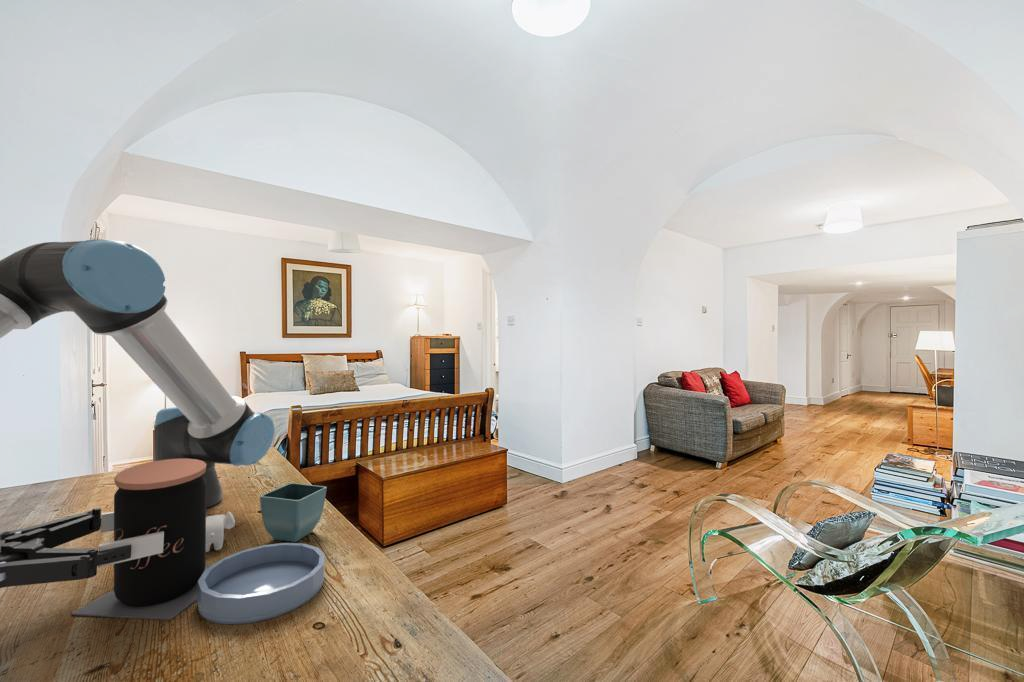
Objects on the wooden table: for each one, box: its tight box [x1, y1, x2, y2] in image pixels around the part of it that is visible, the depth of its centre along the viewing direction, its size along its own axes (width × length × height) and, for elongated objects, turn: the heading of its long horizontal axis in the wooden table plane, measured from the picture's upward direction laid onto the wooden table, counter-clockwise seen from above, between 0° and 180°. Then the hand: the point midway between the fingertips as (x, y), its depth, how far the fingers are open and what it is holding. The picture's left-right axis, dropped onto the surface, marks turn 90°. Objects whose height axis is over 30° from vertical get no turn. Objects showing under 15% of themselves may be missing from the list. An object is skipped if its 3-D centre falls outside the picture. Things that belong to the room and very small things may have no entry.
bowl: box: [196, 542, 326, 625], centre depth 66 cm, size 17×17×4 cm
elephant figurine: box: [205, 511, 236, 553], centre depth 79 cm, size 7×8×6 cm
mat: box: [71, 564, 211, 621], centre depth 65 cm, size 14×14×1 cm
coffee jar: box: [113, 458, 207, 607], centre depth 64 cm, size 11×11×18 cm
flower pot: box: [259, 482, 328, 543], centre depth 85 cm, size 9×9×9 cm
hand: (160, 526), depth 65 cm, fingers open, 13 cm apart
